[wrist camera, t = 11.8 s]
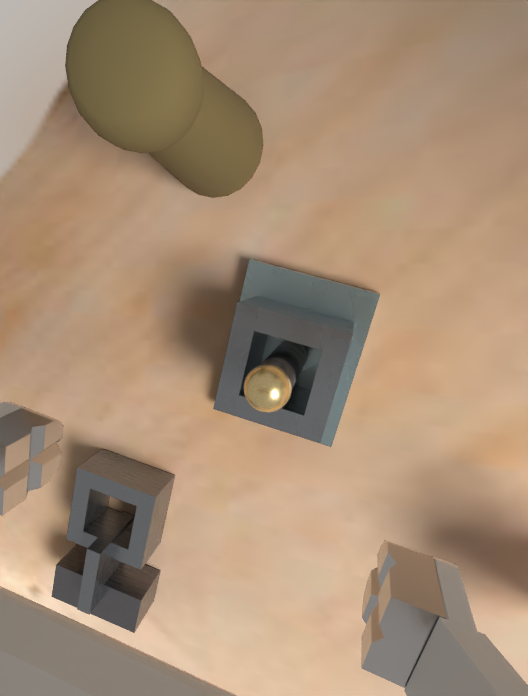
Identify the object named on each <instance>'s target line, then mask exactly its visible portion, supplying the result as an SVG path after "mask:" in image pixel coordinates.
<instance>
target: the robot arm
mask: <svg viewBox="0 0 528 696" xmlns="http://www.w3.org/2000/svg"><path fill="white" fill-rule="evenodd" d="M63 428H64V425H63V424H62V423H61V422H60V421H59V420H56V419H54V418H51V417H49V416H46V415H44V414H41V413H39V412H36V411H34V410H31V409H28V408H25V407H23V406H20V405H18V404H15V403H12V402H3V403H1V404H0V515H2V516H3V515H4V514H6V513H7V512H8V511H10V510H11V509H12V508H14V507H15V506H17V505H18V504H19V503H21V502H22V501H23V500H25V499H26V497H27V493H28V491H30V490H34V489H38V488H41V487H42V486H44V485H45V484H46V483H48V482H49V481H50V480H51V478H52V477H53V476H54V474H55V473H56V472H57V470H58V467H59V464H60V462H61V453H62V452H61V450H60V448H59V446H58V444H57V442H58V441H60V440H61V439H62V438H63ZM362 618H363V620H364V621H365V623H366V627H365V630H364V632H363V635H362V656H361V668H362V669H364V670H367V671H369V672H371V673H373V674H375V675H378V676H380V677H382V678H384V679H386V680H388V681H391V682H393V683H395V684H397V685H399V686H402V687H404V688H405V693H406V695H407V696H528V685H527V684H526V683H525V681H524V680H523V679H522V678H521V677H520V675H519V674H518V673H517V672H516V671H515V670H514V668H513V667H512V666H511V665H510V664H509V662H508V661H507V660H506V659H505V658H504V656H503V655H502V654H501V653H500V652H499V651H498V649H497V648H496V647H495V646H494V645H493V643H492V642H491V641H490V640H489V639H488V637H487V636H486V635H485V634H482V633H480V632H477V629H476V625H475V622H474V619H473V615H472V612H471V608H470V605H469V601H468V598H467V594H466V591H465V587H464V584H463V580H462V577H461V573H460V570H459V568H458V566H457V565H456V564H454V563H451V562H448V561H445V560H442V559H439V558H436V557H433V556H428V555H425V554H422V553H419V552H417V551H414V550H411V549H408V548H405V547H403V546H400V545H397V544H394V543H391V542H389V541H386V540H384V542H383V543H382V545H381V547H380V550H379V552H378V567H377V568H375V569H373V570H371V573H370V576H369V578H368V581H367V584H366V589H365V593H364V598H363V607H362ZM0 696H237V695H235V694H233V693H230V692H228V691H226V690H224V689H222V688H220V687H218V686H215V685H213V684H211V683H209V682H207V681H205V680H202V679H200V678H198V677H196V676H194V675H192V674H189V673H187V672H185V671H183V670H181V669H179V668H176V667H174V666H172V665H170V664H168V663H166V662H163V661H161V660H159V659H157V658H155V657H153V656H151V655H148V654H146V653H144V652H142V651H140V650H138V649H135V648H133V647H131V646H129V645H127V644H125V643H122V642H120V641H118V640H116V639H114V638H112V637H109V636H107V635H105V634H103V633H101V632H98V631H96V630H94V629H92V628H90V627H88V626H85V625H83V624H81V623H79V622H77V621H75V620H72V619H70V618H68V617H66V616H64V615H62V614H59V613H57V612H55V611H53V610H51V609H49V608H46V607H44V606H42V605H40V604H38V603H36V602H33V601H31V600H29V599H27V598H25V597H23V596H20V595H18V594H16V593H14V592H12V591H10V590H7V589H5V588H3V587H1V586H0Z"/></svg>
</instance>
